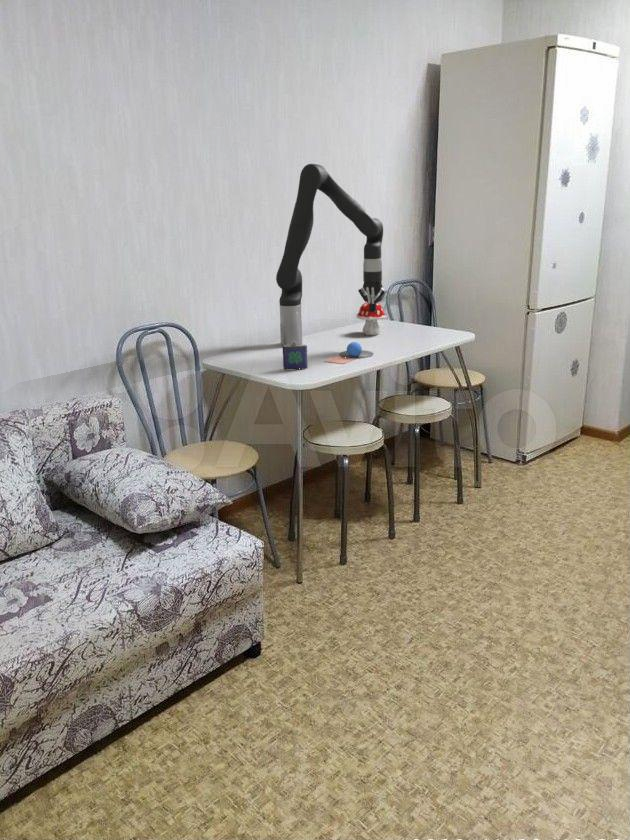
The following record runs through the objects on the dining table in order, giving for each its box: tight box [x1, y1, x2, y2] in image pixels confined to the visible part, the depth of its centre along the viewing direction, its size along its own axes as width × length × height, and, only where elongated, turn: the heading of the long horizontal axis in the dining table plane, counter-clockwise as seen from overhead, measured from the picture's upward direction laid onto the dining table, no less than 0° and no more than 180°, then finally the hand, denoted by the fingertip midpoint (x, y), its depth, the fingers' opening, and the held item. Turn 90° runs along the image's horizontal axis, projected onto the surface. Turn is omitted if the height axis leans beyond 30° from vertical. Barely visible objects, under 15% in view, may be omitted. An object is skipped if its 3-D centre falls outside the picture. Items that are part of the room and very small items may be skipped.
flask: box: [282, 341, 309, 370], centre depth 266 cm, size 9×3×11 cm, turn 95°
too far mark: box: [324, 356, 356, 365], centre depth 278 cm, size 9×9×1 cm
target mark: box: [338, 349, 374, 359], centre depth 288 cm, size 14×14×1 cm
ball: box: [346, 341, 363, 357], centre depth 282 cm, size 6×6×6 cm
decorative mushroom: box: [355, 302, 387, 336], centre depth 324 cm, size 14×14×15 cm
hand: (372, 312), depth 293 cm, fingers closed
